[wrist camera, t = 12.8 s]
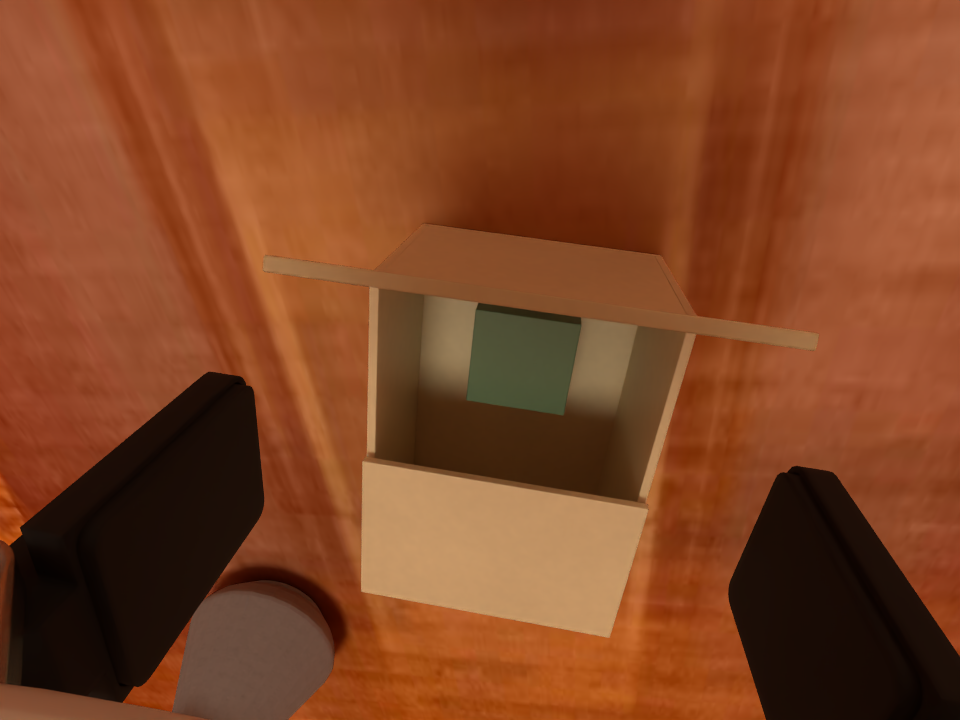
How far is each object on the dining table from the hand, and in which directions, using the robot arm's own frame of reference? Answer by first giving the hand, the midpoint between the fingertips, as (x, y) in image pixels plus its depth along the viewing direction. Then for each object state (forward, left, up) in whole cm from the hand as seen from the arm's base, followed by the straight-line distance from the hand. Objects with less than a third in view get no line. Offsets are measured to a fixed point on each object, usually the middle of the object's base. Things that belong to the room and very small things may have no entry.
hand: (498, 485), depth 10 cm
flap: (-1, 0, -8) cm, 8 cm away
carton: (+8, +4, -22) cm, 24 cm away
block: (+5, +2, -21) cm, 22 cm away
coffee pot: (+41, -4, -22) cm, 47 cm away
